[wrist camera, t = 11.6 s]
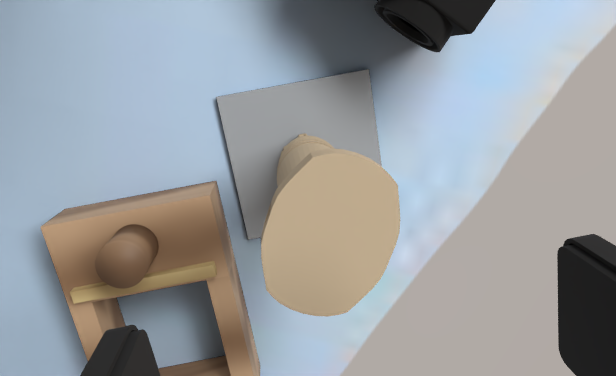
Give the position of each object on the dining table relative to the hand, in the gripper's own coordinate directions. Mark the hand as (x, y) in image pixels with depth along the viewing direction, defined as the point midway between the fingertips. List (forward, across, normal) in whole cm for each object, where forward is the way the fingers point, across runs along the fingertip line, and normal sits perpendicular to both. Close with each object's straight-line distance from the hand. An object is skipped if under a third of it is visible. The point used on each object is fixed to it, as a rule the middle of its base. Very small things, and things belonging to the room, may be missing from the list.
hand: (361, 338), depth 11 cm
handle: (+22, 0, +1) cm, 22 cm away
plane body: (+22, +11, +9) cm, 27 cm away
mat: (+22, 0, +1) cm, 23 cm away
